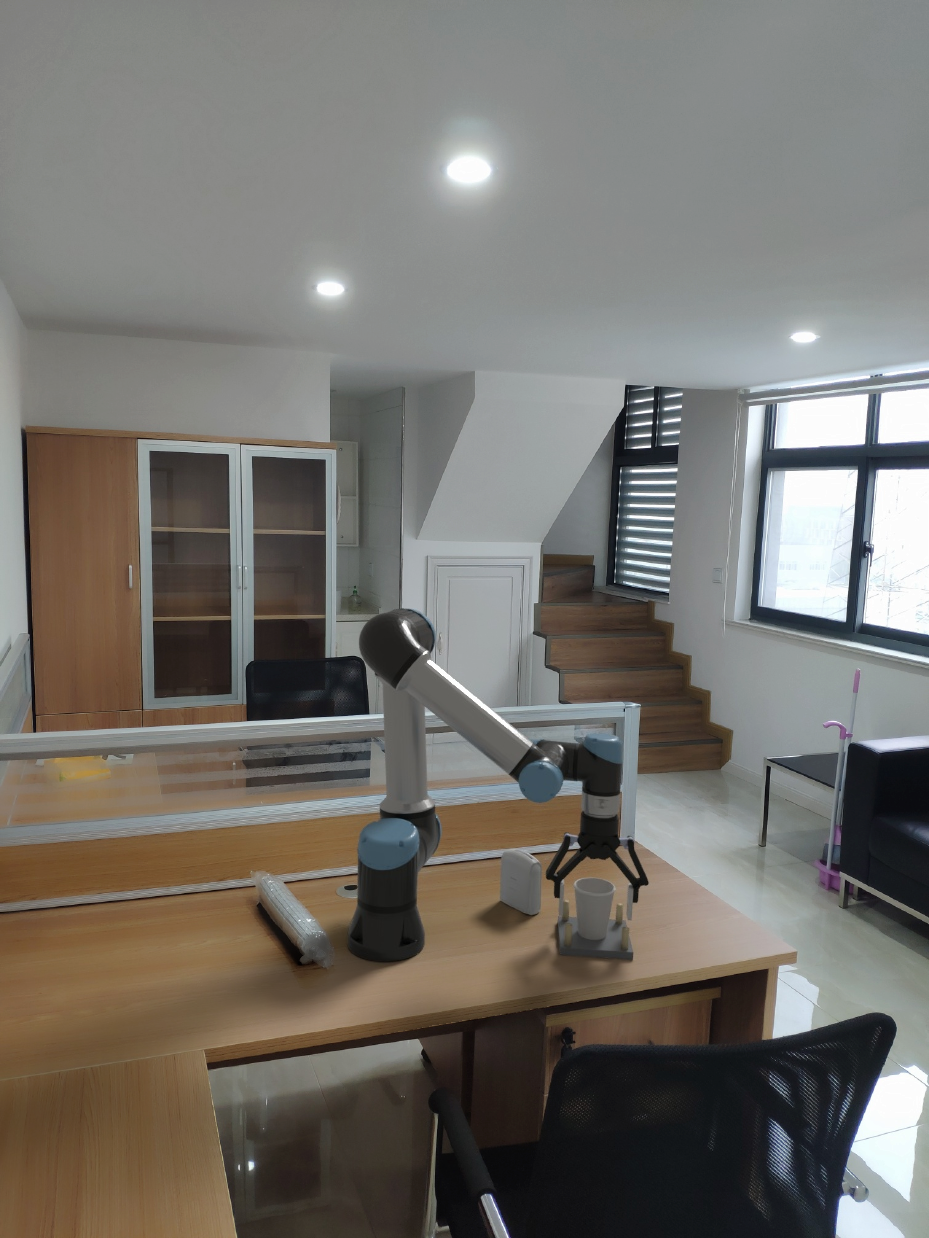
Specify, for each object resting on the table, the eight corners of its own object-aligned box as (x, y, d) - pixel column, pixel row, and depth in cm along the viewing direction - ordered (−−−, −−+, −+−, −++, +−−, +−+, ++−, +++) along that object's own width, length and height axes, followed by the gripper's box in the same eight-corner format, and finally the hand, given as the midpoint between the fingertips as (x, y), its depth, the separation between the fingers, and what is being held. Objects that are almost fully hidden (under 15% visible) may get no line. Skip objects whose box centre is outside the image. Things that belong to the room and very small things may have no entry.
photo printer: (496, 900, 194) (498, 846, 193) (511, 896, 197) (513, 842, 196) (528, 917, 186) (531, 861, 185) (543, 912, 189) (545, 856, 188)
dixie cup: (616, 943, 173) (619, 894, 171) (574, 942, 172) (576, 893, 171) (609, 924, 181) (611, 877, 180) (568, 923, 181) (570, 876, 180)
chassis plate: (559, 954, 170) (561, 927, 170) (557, 922, 184) (558, 897, 184) (632, 959, 169) (634, 932, 169) (625, 927, 183) (626, 901, 183)
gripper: (537, 814, 171) (532, 919, 173) (666, 822, 170) (660, 927, 172) (536, 802, 179) (532, 903, 181) (660, 809, 177) (655, 911, 179)
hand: (594, 915), depth 176 cm, fingers open, 13 cm apart
